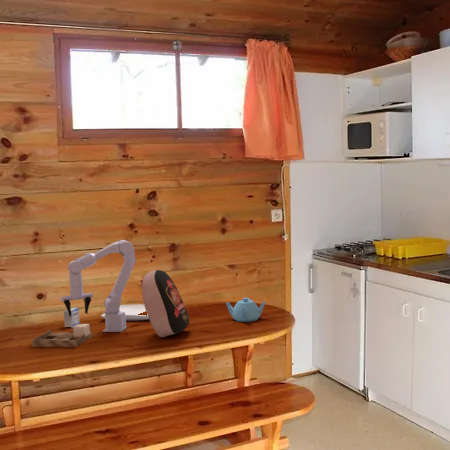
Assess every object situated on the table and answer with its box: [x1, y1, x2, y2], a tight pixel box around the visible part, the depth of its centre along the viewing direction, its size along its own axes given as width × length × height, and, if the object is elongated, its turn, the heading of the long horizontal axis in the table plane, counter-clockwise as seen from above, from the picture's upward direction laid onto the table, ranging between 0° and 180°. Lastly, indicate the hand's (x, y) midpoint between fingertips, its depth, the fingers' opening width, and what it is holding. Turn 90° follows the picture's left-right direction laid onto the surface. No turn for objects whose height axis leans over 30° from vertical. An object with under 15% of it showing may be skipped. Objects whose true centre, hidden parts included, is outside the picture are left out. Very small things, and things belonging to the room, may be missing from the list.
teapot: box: [225, 297, 266, 323], centre depth 291 cm, size 15×15×11 cm
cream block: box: [72, 323, 91, 337], centre depth 268 cm, size 6×6×4 cm
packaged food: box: [141, 269, 190, 338], centre depth 268 cm, size 22×20×30 cm
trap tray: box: [31, 329, 94, 348], centre depth 265 cm, size 21×18×3 cm
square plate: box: [100, 303, 149, 321], centre depth 311 cm, size 27×27×4 cm
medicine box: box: [63, 307, 81, 329], centre depth 294 cm, size 8×4×9 cm, turn 168°
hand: (78, 314), depth 275 cm, fingers open, 7 cm apart
